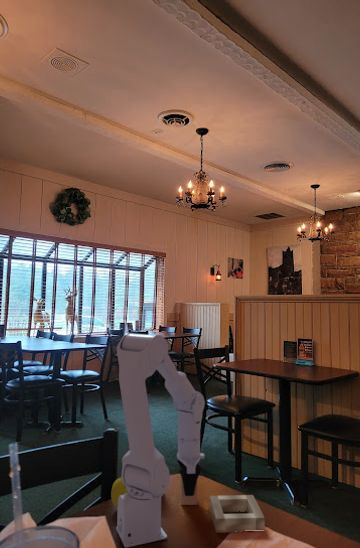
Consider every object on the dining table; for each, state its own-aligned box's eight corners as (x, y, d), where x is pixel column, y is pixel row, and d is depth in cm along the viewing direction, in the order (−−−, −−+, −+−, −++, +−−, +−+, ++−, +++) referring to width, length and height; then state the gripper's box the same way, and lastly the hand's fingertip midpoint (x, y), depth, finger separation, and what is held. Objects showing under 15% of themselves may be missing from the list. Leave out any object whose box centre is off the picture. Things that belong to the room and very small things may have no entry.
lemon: (129, 516, 98) (129, 482, 99) (107, 514, 99) (108, 480, 100) (136, 505, 104) (136, 473, 104) (115, 503, 105) (116, 471, 105)
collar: (216, 532, 92) (216, 518, 92) (209, 508, 103) (209, 495, 103) (264, 531, 92) (264, 517, 93) (253, 507, 103) (253, 495, 104)
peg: (196, 504, 104) (197, 472, 105) (181, 504, 104) (181, 472, 105) (195, 497, 108) (195, 465, 109) (180, 497, 108) (180, 466, 109)
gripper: (207, 446, 100) (207, 504, 99) (201, 428, 115) (200, 479, 114) (178, 447, 100) (178, 505, 99) (176, 428, 114) (175, 479, 113)
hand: (188, 491), depth 106 cm, fingers closed on peg, 4 cm apart
